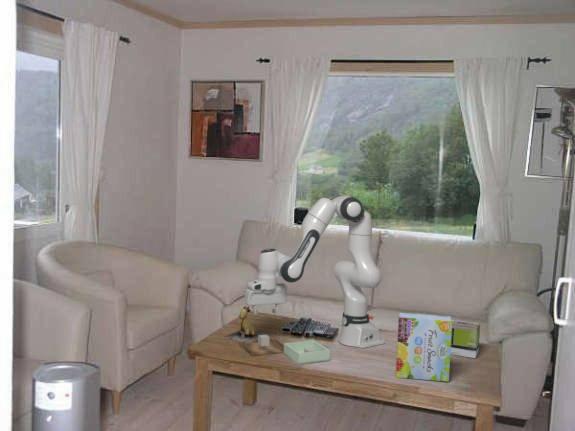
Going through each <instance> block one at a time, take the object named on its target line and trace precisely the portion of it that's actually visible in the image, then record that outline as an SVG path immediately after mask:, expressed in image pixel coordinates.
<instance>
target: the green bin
mask: <svg viewBox="0 0 575 431" xmlns="http://www.w3.org/2000/svg"><path fill="white" fill-rule="evenodd" d="M283 344H284V352H283V353H282V354H283V355H284V356H286V357H287V358H289V360H291V361H292V362H294V363H295V364H296V365H298V366H303V365H309V364H317V363H326V362H330V360H331V350H330V349H329V348H327V347H325V346H324V345H322V344H320V343H319V342H318V341H316V340H313V339H311V340H302V341H294V342H285V343H283ZM309 347H312V348H314V349H316V351H314V352H305V353H304V348H309Z"/></svg>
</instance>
